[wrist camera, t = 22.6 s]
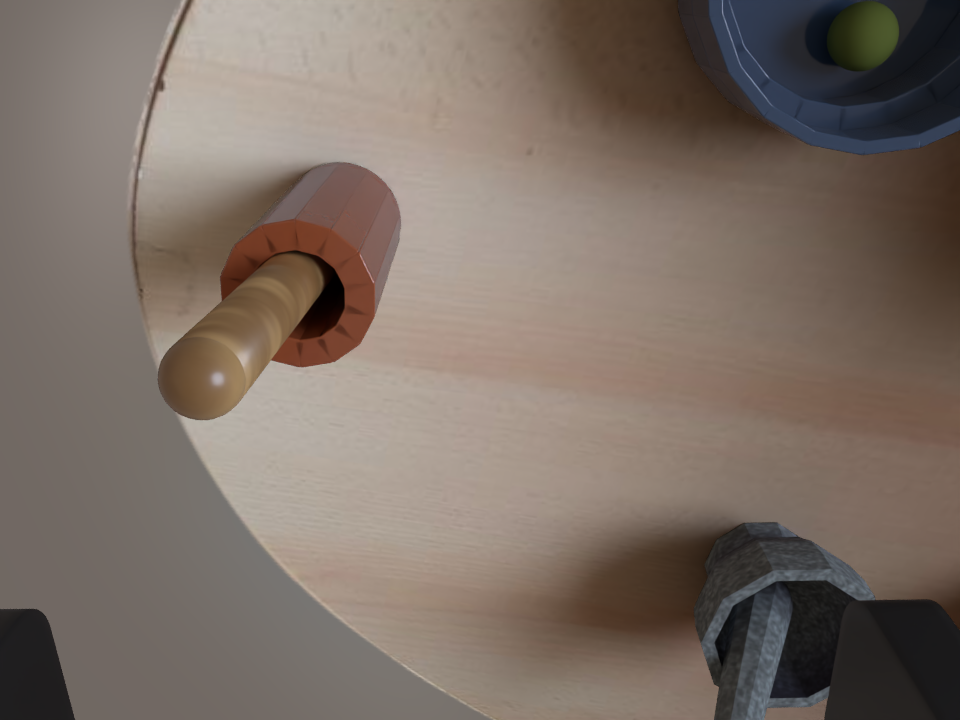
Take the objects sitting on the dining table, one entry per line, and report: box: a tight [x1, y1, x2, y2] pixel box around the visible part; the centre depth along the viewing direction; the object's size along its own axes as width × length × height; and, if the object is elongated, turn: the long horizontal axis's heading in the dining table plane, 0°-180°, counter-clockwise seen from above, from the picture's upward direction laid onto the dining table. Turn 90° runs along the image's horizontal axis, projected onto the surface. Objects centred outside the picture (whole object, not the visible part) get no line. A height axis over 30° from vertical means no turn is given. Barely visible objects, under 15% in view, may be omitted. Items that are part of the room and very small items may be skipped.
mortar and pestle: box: [694, 523, 875, 720], centre depth 48 cm, size 11×9×12 cm
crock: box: [220, 162, 401, 367], centre depth 40 cm, size 6×6×12 cm
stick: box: [158, 250, 336, 420], centre depth 34 cm, size 2×2×22 cm
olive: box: [827, 1, 899, 71], centre depth 40 cm, size 3×3×3 cm
